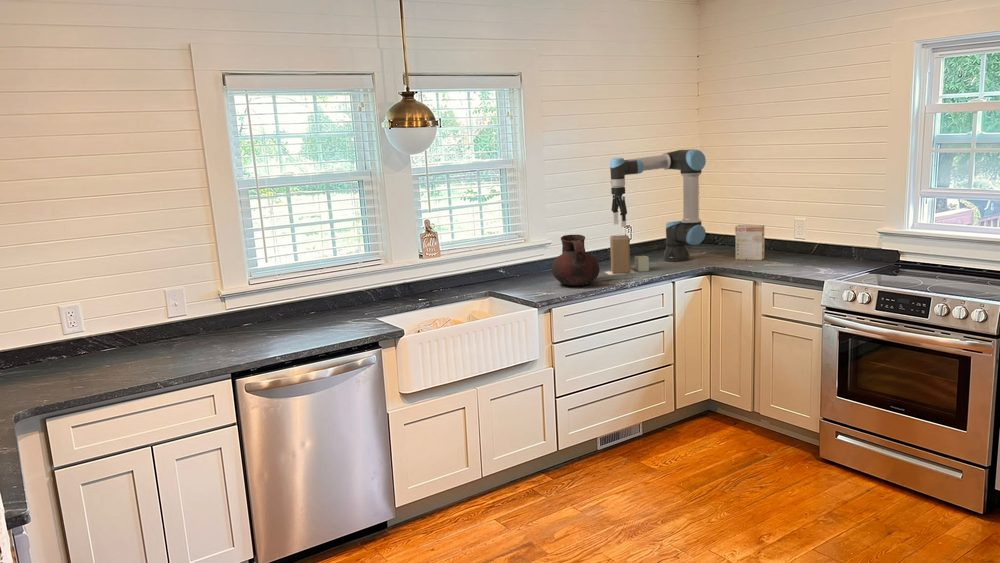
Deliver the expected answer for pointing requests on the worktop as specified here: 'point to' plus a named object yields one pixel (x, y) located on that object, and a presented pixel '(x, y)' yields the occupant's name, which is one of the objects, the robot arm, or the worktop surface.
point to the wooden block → (620, 254)
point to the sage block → (641, 263)
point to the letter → (621, 273)
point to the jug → (574, 263)
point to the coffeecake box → (749, 242)
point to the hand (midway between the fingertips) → (619, 225)
